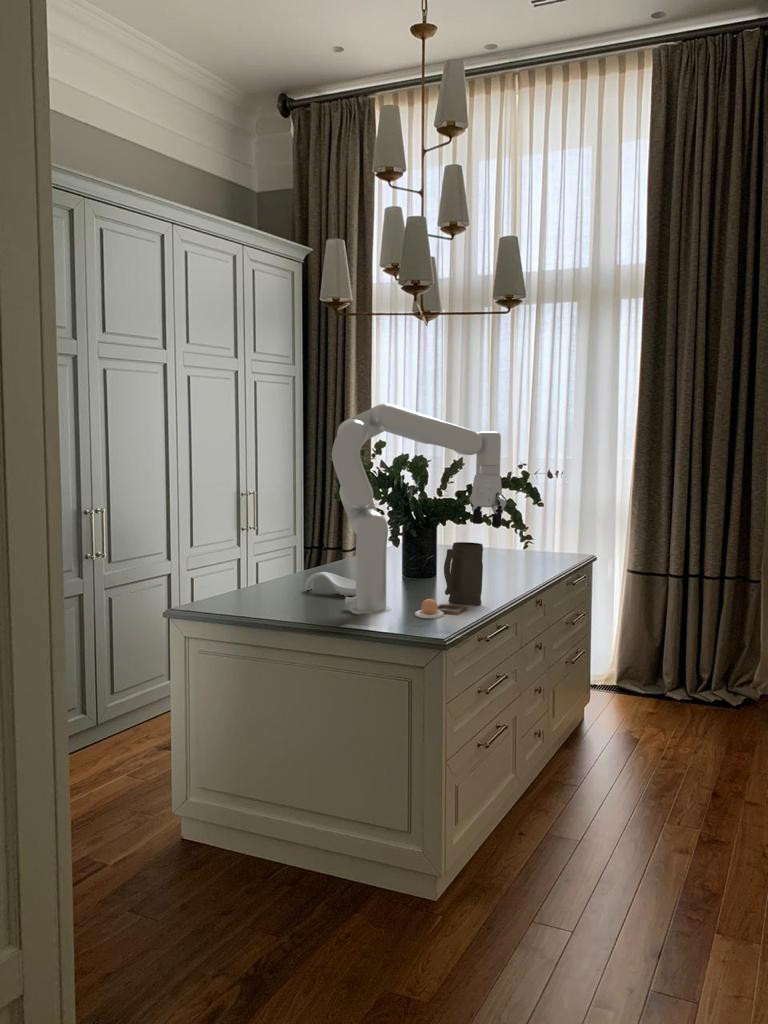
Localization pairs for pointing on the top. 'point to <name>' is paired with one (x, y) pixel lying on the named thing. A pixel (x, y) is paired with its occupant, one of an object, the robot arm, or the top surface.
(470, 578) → the beer stein
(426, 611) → the ball
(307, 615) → the top surface
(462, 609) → the tray
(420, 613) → the octagonal white dish
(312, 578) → the spoon rest
